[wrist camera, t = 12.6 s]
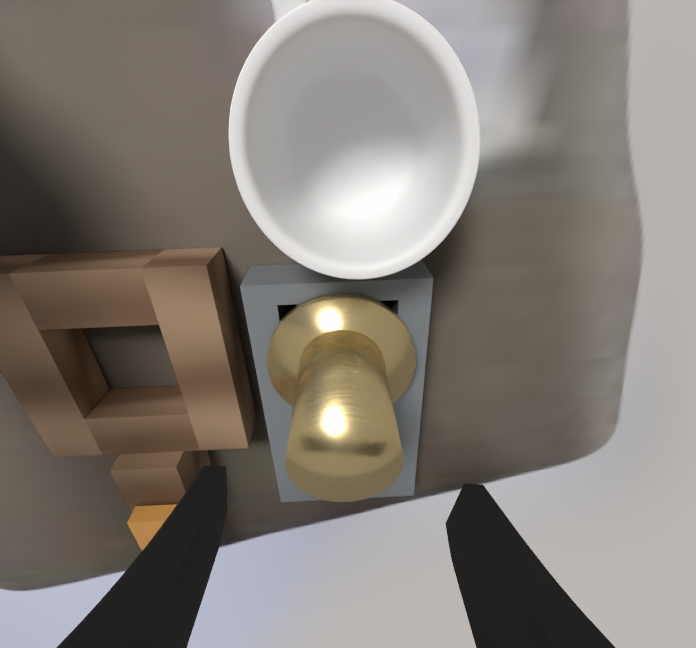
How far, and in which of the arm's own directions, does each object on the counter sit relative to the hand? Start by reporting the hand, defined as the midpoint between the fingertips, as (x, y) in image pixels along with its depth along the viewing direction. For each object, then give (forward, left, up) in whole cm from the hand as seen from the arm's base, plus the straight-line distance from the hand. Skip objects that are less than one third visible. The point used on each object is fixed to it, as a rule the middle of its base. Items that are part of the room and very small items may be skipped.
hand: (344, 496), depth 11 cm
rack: (+4, 0, -10) cm, 11 cm away
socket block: (+3, -11, -10) cm, 15 cm away
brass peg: (0, 0, -10) cm, 10 cm away
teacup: (-10, 0, -11) cm, 15 cm away
